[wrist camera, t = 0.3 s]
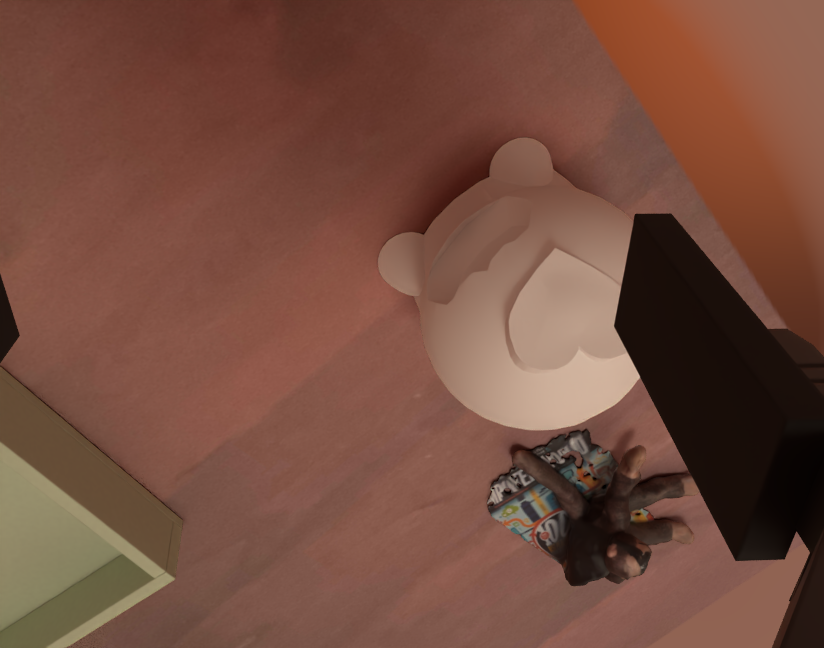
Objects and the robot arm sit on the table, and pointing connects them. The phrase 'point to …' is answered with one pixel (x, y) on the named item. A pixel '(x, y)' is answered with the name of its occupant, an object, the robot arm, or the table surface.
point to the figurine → (521, 294)
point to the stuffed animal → (588, 508)
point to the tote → (70, 529)
